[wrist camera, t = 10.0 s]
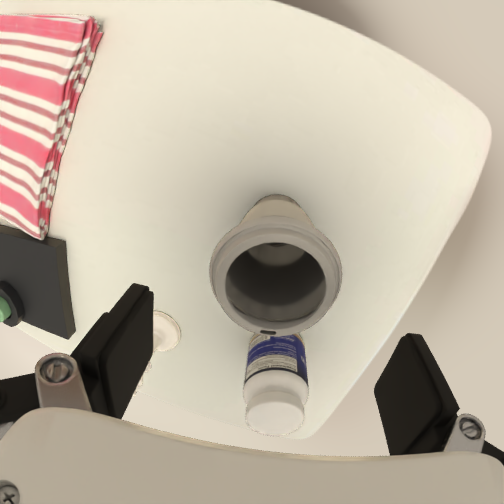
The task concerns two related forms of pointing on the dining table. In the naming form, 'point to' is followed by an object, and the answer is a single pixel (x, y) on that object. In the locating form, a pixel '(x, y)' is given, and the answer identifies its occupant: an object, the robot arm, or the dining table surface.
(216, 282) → the cup
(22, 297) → the scale
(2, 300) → the button
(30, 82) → the dish towel
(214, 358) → the dining table surface
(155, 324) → the chess piece
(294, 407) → the pill bottle
